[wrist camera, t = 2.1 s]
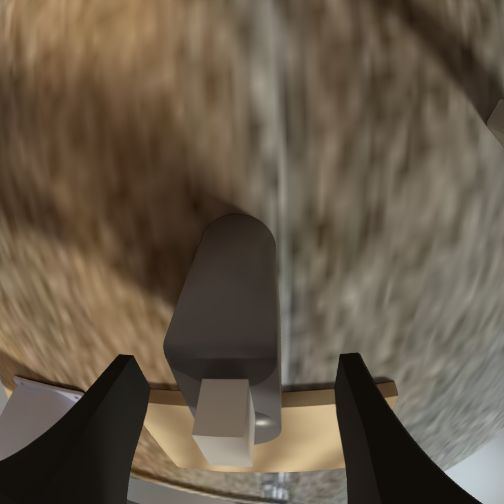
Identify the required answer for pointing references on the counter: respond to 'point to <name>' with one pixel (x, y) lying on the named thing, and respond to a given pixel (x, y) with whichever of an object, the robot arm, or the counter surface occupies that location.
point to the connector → (230, 341)
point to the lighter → (497, 122)
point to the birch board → (266, 454)
